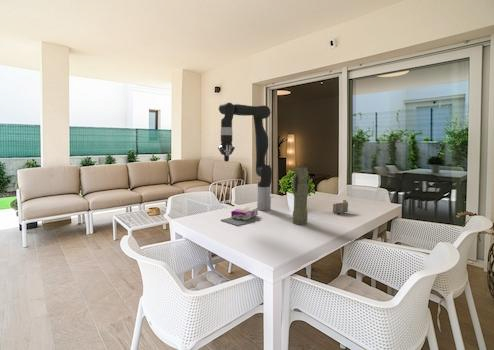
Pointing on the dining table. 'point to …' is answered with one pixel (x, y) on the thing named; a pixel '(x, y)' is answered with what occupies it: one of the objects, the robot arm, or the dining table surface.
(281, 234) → the dining table surface
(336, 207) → the architectural model on board
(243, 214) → the candy bar box
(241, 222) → the mat
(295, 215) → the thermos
